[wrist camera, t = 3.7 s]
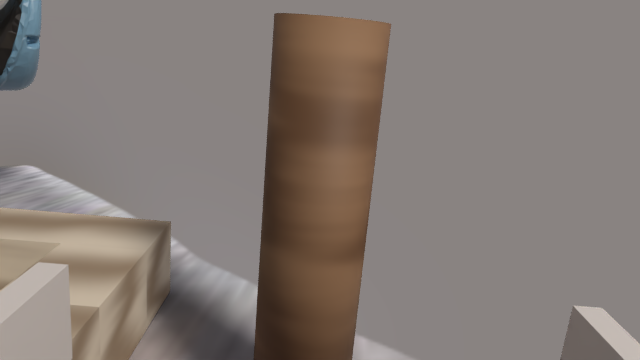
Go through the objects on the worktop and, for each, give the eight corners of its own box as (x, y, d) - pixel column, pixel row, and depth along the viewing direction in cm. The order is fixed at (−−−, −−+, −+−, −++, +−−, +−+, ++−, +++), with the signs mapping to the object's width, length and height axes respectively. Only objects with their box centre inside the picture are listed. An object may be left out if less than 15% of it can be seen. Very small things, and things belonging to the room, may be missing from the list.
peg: (241, 396, 25) (262, 14, 21) (324, 383, 27) (361, 24, 22) (262, 465, 21) (294, 11, 17) (359, 445, 23) (412, 24, 18)
